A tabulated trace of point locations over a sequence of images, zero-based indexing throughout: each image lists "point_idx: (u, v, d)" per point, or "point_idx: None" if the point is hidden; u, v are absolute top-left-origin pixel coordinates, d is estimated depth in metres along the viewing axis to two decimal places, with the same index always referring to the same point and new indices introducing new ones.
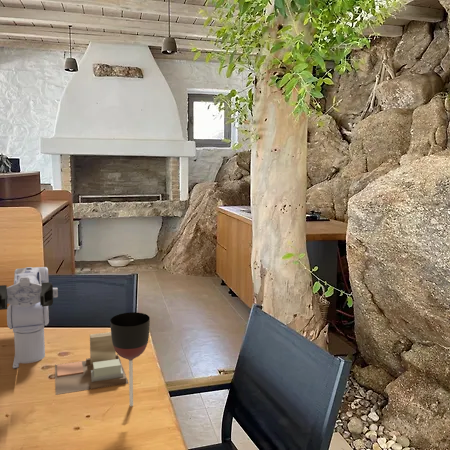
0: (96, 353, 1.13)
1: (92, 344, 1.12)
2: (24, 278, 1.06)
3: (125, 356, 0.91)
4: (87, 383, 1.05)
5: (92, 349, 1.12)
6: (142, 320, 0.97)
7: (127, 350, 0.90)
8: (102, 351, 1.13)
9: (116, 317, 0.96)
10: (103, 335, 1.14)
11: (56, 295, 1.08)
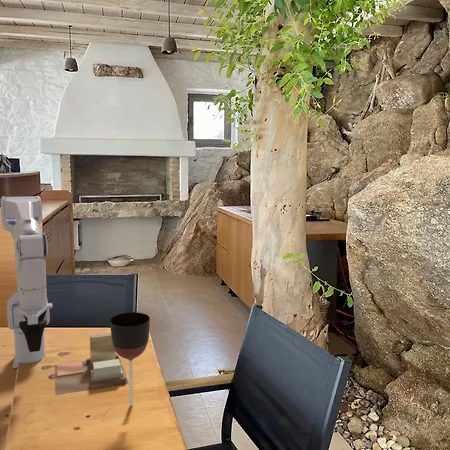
0: (96, 353, 1.13)
1: (92, 344, 1.12)
2: None
3: (125, 356, 0.91)
4: (87, 383, 1.05)
5: (92, 349, 1.12)
6: (142, 320, 0.97)
7: (127, 350, 0.90)
8: (102, 351, 1.13)
9: (116, 317, 0.96)
10: (103, 335, 1.14)
11: None
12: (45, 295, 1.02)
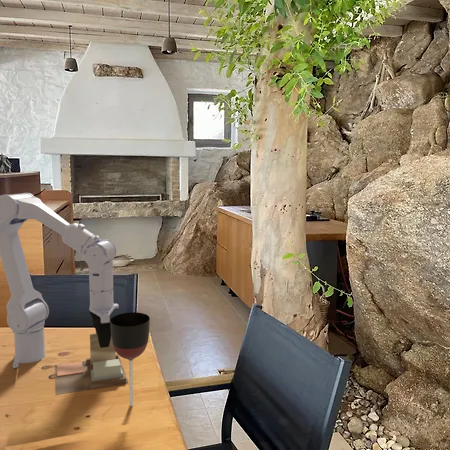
0: (96, 353, 1.13)
1: (92, 344, 1.12)
2: None
3: (125, 356, 0.91)
4: (87, 383, 1.05)
5: (92, 349, 1.12)
6: (142, 320, 0.97)
7: (127, 350, 0.90)
8: (102, 351, 1.13)
9: (116, 317, 0.96)
10: None
11: None
12: (112, 296, 1.13)
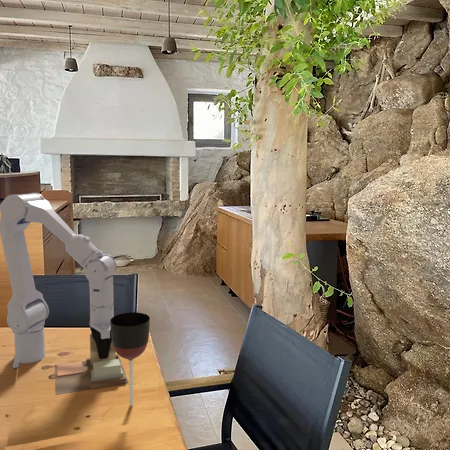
0: (96, 353, 1.13)
1: (92, 344, 1.12)
2: None
3: (125, 356, 0.91)
4: (87, 383, 1.05)
5: (92, 349, 1.12)
6: (142, 320, 0.97)
7: (127, 350, 0.90)
8: None
9: (116, 317, 0.96)
10: None
11: None
12: (113, 311, 1.13)
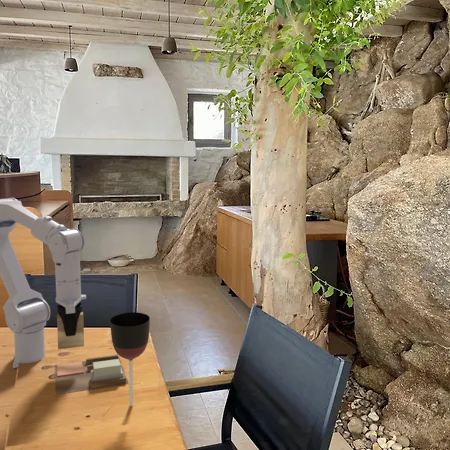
0: (63, 333, 1.09)
1: (59, 324, 1.08)
2: None
3: (125, 356, 0.91)
4: (87, 383, 1.05)
5: (59, 329, 1.09)
6: (142, 320, 0.97)
7: (127, 350, 0.90)
8: None
9: (116, 317, 0.96)
10: None
11: None
12: (80, 287, 1.09)
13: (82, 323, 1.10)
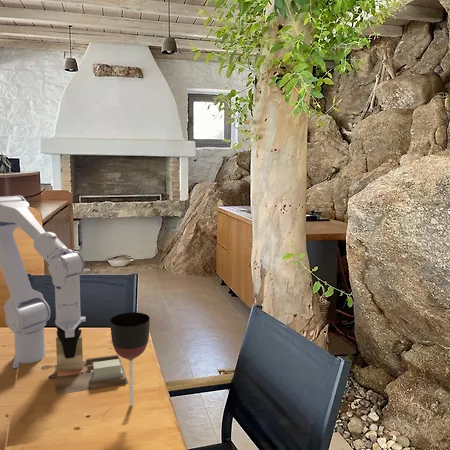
0: (62, 356, 1.10)
1: (58, 347, 1.09)
2: None
3: (125, 356, 0.91)
4: (87, 383, 1.05)
5: (58, 352, 1.09)
6: (142, 320, 0.97)
7: (127, 350, 0.90)
8: None
9: (116, 317, 0.96)
10: None
11: None
12: (79, 309, 1.10)
13: (81, 346, 1.11)
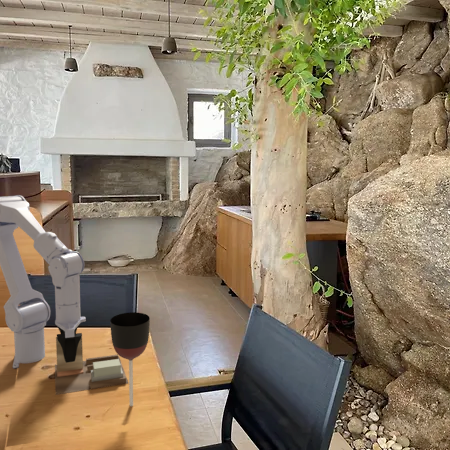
0: (62, 356, 1.10)
1: (58, 347, 1.09)
2: None
3: (125, 356, 0.91)
4: (87, 383, 1.05)
5: (58, 352, 1.09)
6: (142, 320, 0.97)
7: (127, 350, 0.90)
8: None
9: (116, 317, 0.96)
10: None
11: None
12: (79, 309, 1.10)
13: (81, 346, 1.11)
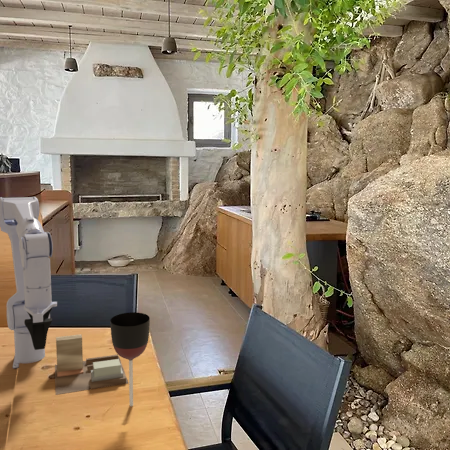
0: (62, 356, 1.10)
1: (58, 347, 1.09)
2: None
3: (125, 356, 0.91)
4: (87, 383, 1.05)
5: (58, 352, 1.09)
6: (142, 320, 0.97)
7: (127, 350, 0.90)
8: (68, 354, 1.10)
9: (116, 317, 0.96)
10: (69, 337, 1.11)
11: None
12: (50, 293, 1.03)
13: (81, 346, 1.11)
